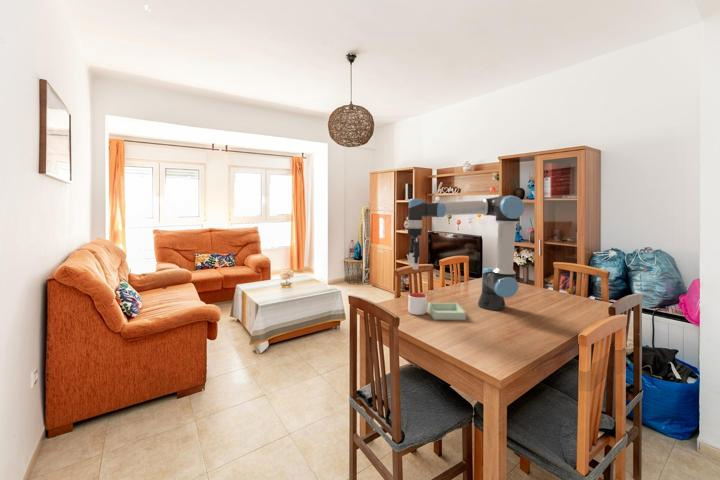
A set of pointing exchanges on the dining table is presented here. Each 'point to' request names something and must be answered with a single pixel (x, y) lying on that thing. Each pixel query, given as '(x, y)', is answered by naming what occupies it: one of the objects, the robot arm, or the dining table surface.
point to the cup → (417, 303)
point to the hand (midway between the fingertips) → (413, 266)
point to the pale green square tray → (446, 311)
